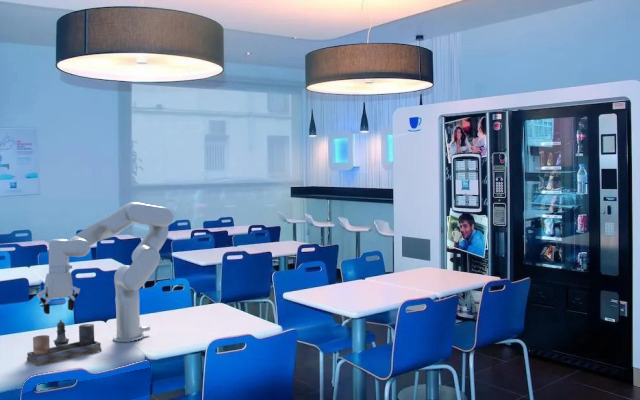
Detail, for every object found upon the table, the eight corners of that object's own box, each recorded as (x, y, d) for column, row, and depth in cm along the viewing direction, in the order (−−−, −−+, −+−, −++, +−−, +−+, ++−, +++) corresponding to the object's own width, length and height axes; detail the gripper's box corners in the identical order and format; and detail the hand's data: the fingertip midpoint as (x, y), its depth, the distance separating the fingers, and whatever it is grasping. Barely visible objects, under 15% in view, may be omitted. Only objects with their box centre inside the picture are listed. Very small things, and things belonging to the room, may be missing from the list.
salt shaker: (54, 351, 242) (53, 322, 242) (53, 348, 248) (52, 319, 247) (70, 349, 245) (69, 320, 245) (68, 346, 250) (67, 317, 250)
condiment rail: (89, 346, 249) (88, 322, 249) (101, 351, 243) (100, 325, 242) (26, 360, 231) (26, 334, 230) (38, 366, 224) (37, 338, 224)
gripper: (75, 266, 254) (75, 307, 254) (33, 270, 241) (33, 313, 241) (83, 268, 249) (83, 309, 249) (41, 272, 236) (41, 316, 236)
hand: (58, 311), depth 245 cm, fingers open, 9 cm apart
